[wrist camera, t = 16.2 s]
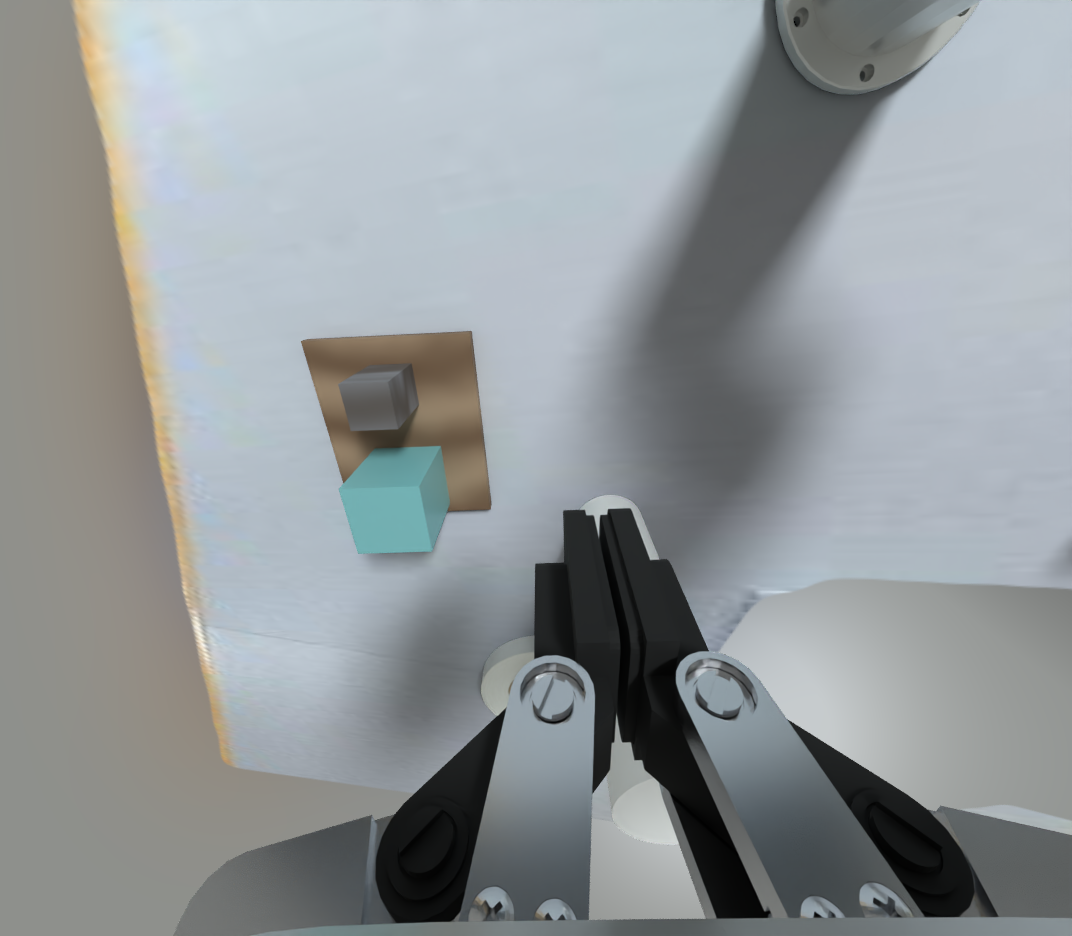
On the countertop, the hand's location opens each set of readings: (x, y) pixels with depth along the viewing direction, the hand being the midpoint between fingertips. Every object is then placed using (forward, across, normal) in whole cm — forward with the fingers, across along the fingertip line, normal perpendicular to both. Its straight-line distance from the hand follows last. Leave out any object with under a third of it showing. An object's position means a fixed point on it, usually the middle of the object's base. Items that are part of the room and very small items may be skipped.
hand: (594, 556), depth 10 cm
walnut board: (+27, +14, +6) cm, 31 cm away
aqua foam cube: (+26, +14, +11) cm, 32 cm away
